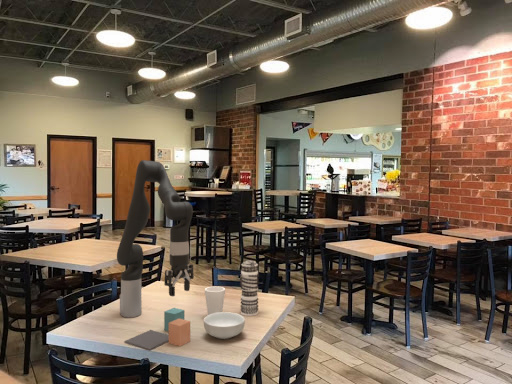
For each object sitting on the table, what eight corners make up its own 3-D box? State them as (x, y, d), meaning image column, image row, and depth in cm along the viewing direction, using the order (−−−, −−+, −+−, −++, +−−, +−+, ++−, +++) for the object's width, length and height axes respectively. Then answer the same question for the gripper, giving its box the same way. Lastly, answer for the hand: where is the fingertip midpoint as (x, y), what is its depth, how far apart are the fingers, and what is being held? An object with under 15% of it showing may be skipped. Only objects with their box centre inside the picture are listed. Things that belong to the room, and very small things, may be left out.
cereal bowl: (210, 346, 159) (210, 328, 158) (198, 331, 174) (198, 314, 174) (250, 339, 165) (251, 322, 165) (236, 325, 181) (236, 309, 180)
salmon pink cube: (168, 342, 162) (168, 322, 161) (179, 337, 167) (178, 318, 166) (180, 346, 158) (180, 325, 158) (190, 341, 164) (190, 321, 163)
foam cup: (221, 320, 187) (221, 292, 186) (202, 319, 188) (202, 291, 188) (227, 313, 196) (227, 286, 195) (208, 312, 198) (208, 285, 197)
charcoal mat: (124, 342, 162) (124, 341, 162) (150, 331, 174) (150, 329, 174) (149, 350, 154) (149, 349, 154) (175, 338, 166) (175, 336, 166)
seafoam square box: (164, 330, 175) (164, 311, 175) (174, 325, 180) (174, 307, 180) (174, 332, 172) (174, 314, 172) (184, 328, 177) (184, 310, 177)
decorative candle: (261, 310, 201) (261, 259, 200) (256, 316, 192) (256, 263, 191) (243, 308, 203) (243, 258, 202) (237, 315, 194) (237, 262, 193)
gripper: (184, 248, 169) (184, 287, 170) (159, 254, 157) (159, 296, 158) (198, 250, 165) (198, 290, 166) (174, 256, 153) (174, 299, 154)
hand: (179, 293), depth 162 cm, fingers open, 8 cm apart
